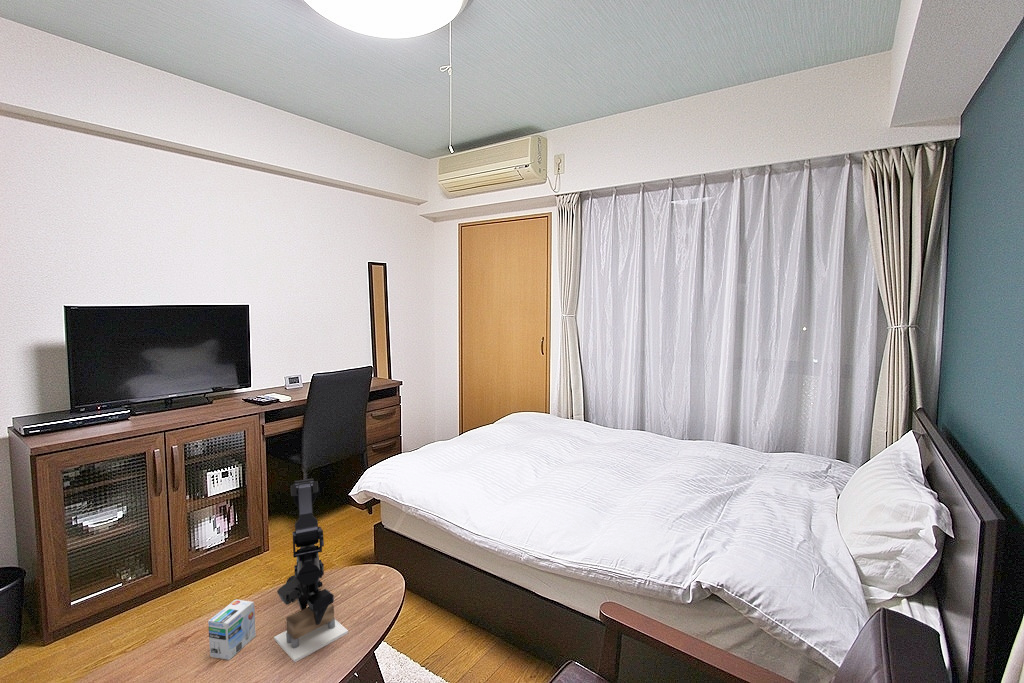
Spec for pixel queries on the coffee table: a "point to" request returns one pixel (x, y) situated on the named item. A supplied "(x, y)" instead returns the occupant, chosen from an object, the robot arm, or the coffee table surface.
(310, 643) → the peg stand
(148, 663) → the coffee table surface
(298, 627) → the walnut board
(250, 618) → the light bulb box
